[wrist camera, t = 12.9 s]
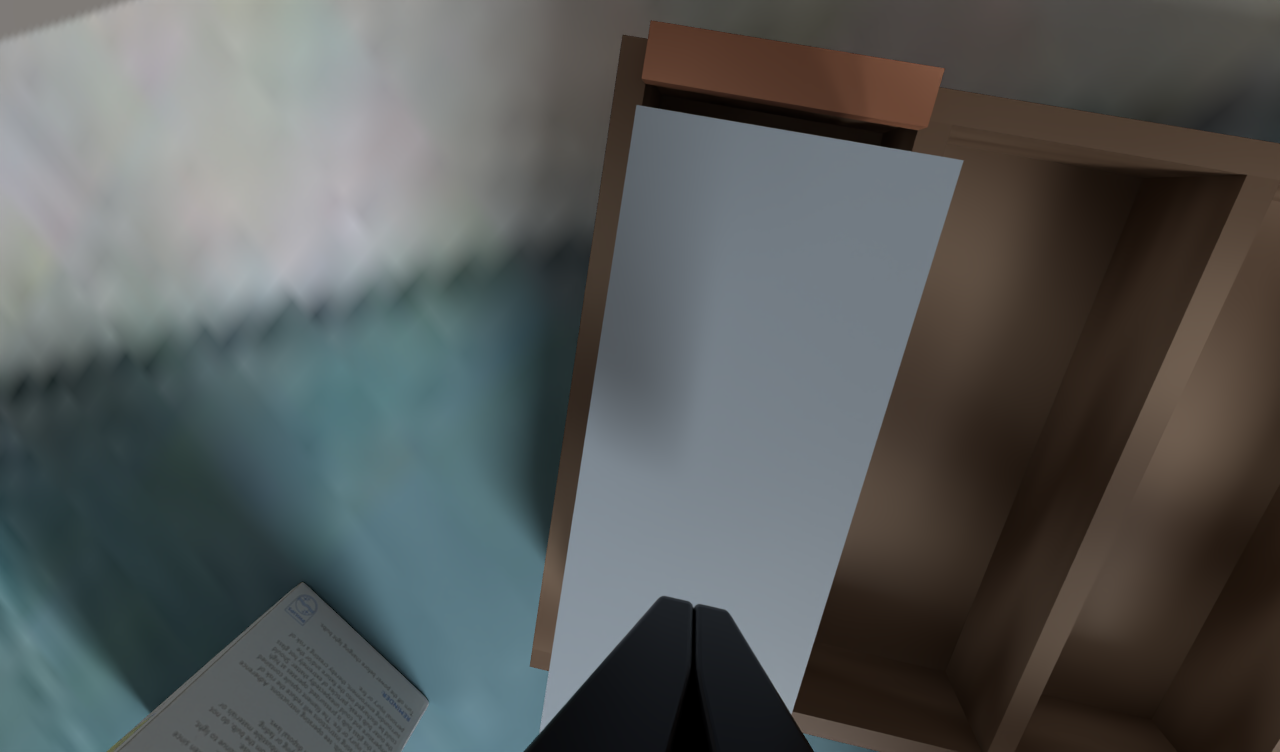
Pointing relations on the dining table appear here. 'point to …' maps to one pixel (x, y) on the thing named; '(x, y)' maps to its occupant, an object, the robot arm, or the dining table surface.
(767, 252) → the white rectangular box
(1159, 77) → the dining table surface
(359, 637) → the light bulb box
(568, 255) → the dining table surface
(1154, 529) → the rack
